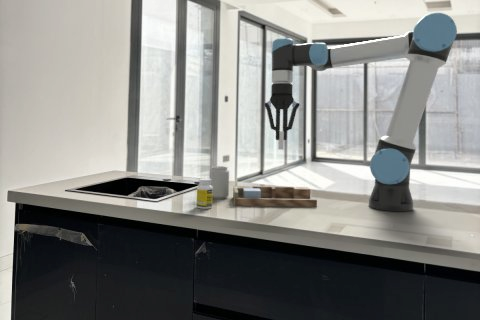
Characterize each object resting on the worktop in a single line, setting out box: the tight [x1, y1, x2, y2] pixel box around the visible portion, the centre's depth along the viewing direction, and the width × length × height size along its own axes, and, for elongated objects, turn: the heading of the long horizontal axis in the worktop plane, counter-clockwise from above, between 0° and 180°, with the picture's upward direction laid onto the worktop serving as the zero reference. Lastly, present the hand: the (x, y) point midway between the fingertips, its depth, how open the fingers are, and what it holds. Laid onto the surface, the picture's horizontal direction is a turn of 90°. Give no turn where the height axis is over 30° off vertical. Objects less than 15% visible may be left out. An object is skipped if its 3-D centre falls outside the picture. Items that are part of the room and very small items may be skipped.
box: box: [232, 185, 318, 208], centre depth 156 cm, size 29×16×4 cm, turn 93°
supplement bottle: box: [196, 177, 214, 210], centre depth 143 cm, size 5×5×10 cm
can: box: [209, 165, 230, 200], centre depth 162 cm, size 8×8×12 cm
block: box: [243, 188, 261, 198], centre depth 154 cm, size 6×6×5 cm
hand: (280, 149), depth 153 cm, fingers closed
